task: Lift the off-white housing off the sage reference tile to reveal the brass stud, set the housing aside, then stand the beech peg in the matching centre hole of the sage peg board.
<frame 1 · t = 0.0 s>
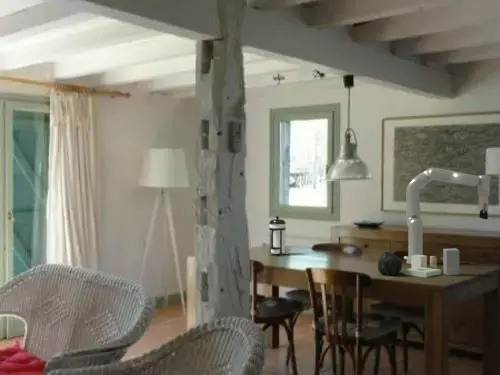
hand: (483, 218, 430), 31 cm above the table, tool pointing down, fingers open, 9 cm apart
peg board: (422, 274, 391), on the table
peg: (433, 272, 398), on the table
reference tile: (419, 270, 407), on the table
housing: (419, 269, 407), resting on reference tile
skincare box: (451, 274, 390), on the table
squash: (389, 274, 392), on the table
coffee press: (277, 255, 486), on the table
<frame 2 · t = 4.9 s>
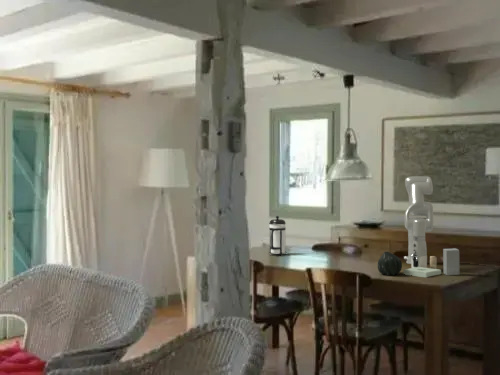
hand: (419, 266, 407), 3 cm above the table, tool pointing down, fingers closed on housing, 7 cm apart
housing: (419, 269, 407), resting on reference tile, touching gripper
everything else where it was.
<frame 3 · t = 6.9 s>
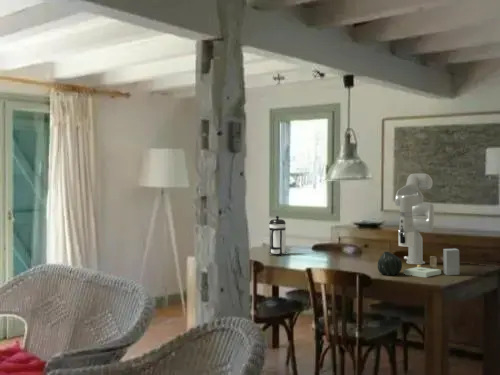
hand: (406, 242, 403), 18 cm above the table, tool pointing down, fingers closed on housing, 7 cm apart
housing: (406, 246, 403), point 16 cm above the table, touching gripper
everything else where it was.
when the fingers open (4 cm above the table, at t = 9.3 s): housing drops 1 cm, on the table.
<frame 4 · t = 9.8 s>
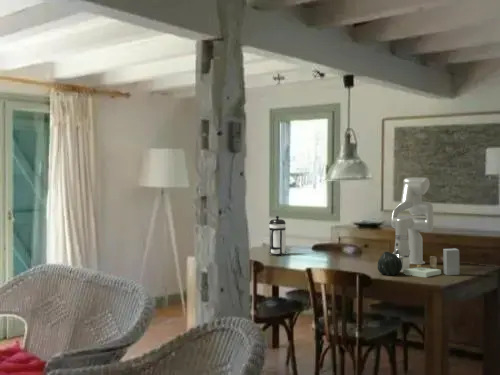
hand: (401, 264, 403), 4 cm above the table, tool pointing down, fingers open, 9 cm apart
housing: (401, 271, 403), on the table
everything else where it was.
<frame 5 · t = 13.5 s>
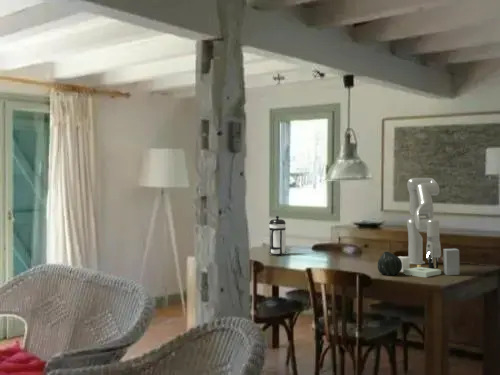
hand: (433, 268, 398), 3 cm above the table, tool pointing down, fingers closed on peg, 4 cm apart
peg: (432, 272, 398), on the table, touching gripper
everything else where it was.
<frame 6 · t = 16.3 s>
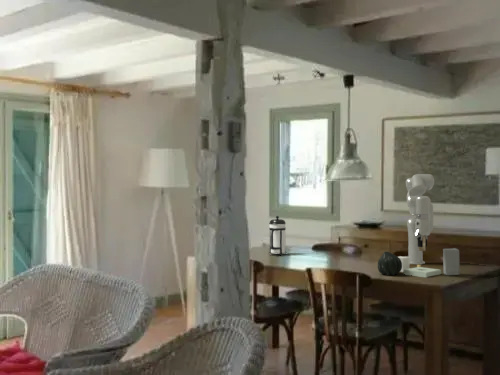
hand: (422, 246, 390), 17 cm above the table, tool pointing down, fingers closed on peg, 4 cm apart
peg: (422, 250, 390), point 15 cm above the table, touching gripper
everything else where it was.
when the fingers open (4 cm above the table, at t = 19.0 s): peg stays where it is, resting in peg board.
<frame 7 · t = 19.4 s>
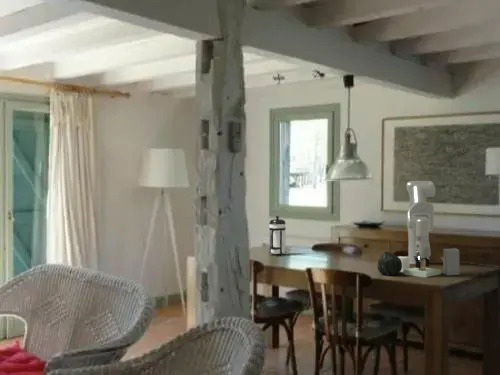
hand: (422, 267, 390), 5 cm above the table, tool pointing down, fingers open, 8 cm apart
peg: (422, 274, 391), resting in peg board
everything else where it was.
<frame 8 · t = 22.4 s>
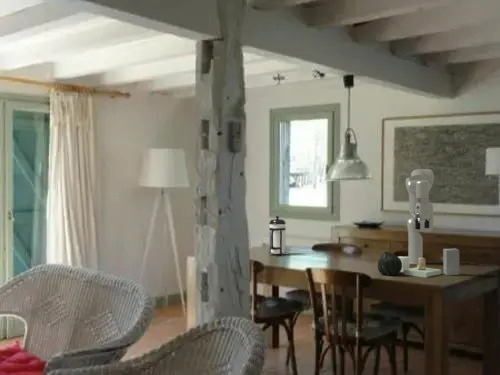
hand: (422, 228, 390), 28 cm above the table, tool pointing down, fingers open, 9 cm apart
nothing on the table moved.
at the end: peg 0.4 cm off-centre on the peg board, point 0.0 cm above the peg board's base; peg tilted 0°; housing moved 12.9 cm from its start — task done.
